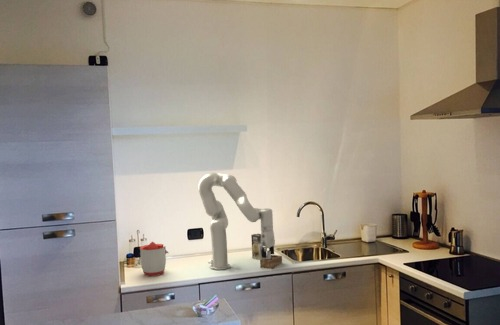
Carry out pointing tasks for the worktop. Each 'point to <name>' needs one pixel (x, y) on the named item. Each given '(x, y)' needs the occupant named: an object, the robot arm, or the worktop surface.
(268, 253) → the pin
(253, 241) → the coffee box
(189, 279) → the worktop surface
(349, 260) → the worktop surface
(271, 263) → the hole block
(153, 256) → the citrus juicer
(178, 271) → the worktop surface
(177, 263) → the worktop surface
